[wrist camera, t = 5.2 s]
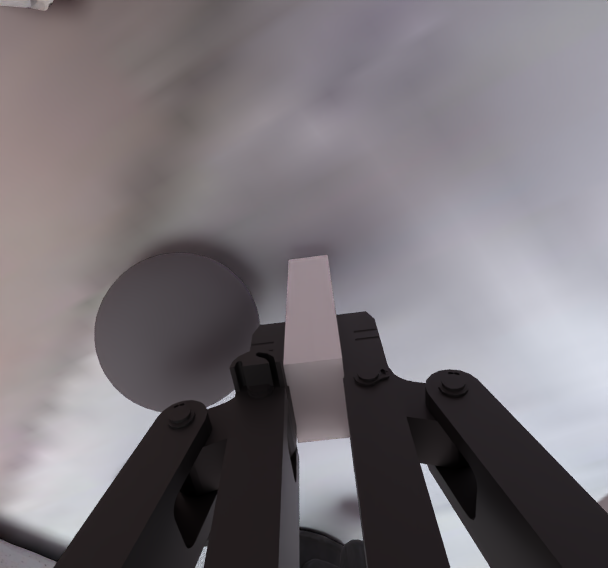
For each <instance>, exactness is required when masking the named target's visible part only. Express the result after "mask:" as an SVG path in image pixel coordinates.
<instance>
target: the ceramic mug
mask: <svg viewBox="0 0 608 568" xmlns="http://www.w3.org/2000/svg"><path fill="white" fill-rule="evenodd" d="M56 563H57V562H56V561H53V560H51V559H49V558H46V557H44V556H41V555H39V554H37V553H34V552H32V551H29V550H27V549H24V548H21V547H18V546H16V545H13V544H10V543H8V542H6V541H4V540H1V539H0V568H53V567H54V566H55V564H56Z"/></svg>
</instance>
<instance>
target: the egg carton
mask: <svg viewBox="0 0 608 568" xmlns="http://www.w3.org/2000/svg"><path fill="white" fill-rule="evenodd" d="M52 3H53V0H0V6H11V7H22V8H32V9H37V10H42V11H46V10H47V9H48V8H49V6H50V5H51V4H52Z"/></svg>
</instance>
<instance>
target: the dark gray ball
mask: <svg viewBox="0 0 608 568" xmlns="http://www.w3.org/2000/svg"><path fill="white" fill-rule="evenodd" d="M259 326H260V323H259V315H258V311H257V307H256V305H255V302H254V300H253V298H252V295H251V294H250V292H249V290H248V289H247V287H246V286H245V284H244V283H243V282H242V281H241V279H240V278H239V277H238V276H237V275H235V274H234V273H233V272H232V271H231V270H230V269H229V268H227V267H226V266H224V265H222V264H221V263H219V262H217V261H215V260H213V259H211V258H208V257H205V256H201V255H197V254H192V253H167V254H161V255H158V256H154V257H151V258H148V259H146V260H144V261H141V262H139V263H137V264H136V265H134V266H133V267H131V268H130V269H128V270H127V271H126V272H124V273H123V274H122V275H121V276H120V277H119V278H118V279H117V280H116V281H115V282H114V284H113V285H112V286H111V287H110V289H109V290H108V292H107V293H106V295H105V297H104V298H103V300H102V303H101V305H100V307H99V310H98V313H97V317H96V322H95V348H96V353H97V356H98V359H99V362H100V365H101V367H102V369H103V371H104V373H105V375H106V376H107V378H108V379H109V381H110V382H111V383H112V385H113V386H114V387H115V388H116V389H117V390H118V391H119V392H120V393H121V394H123V395H124V396H125V397H126V398H128V399H129V400H131V401H132V402H134V403H136V404H138V405H140V406H143V407H145V408H147V409H151V410H155V411H159V412H163V411H164V410H165V409H166V408H168V407H169V406H171V405H173V404H175V403H178V402H181V401H186V400H195V401H199V402H201V403H203V404H204V405H205V406H206V407H208V406H210V405H212V404H214V403H216V402H218V401H220V400H221V399H223V398H224V397H226V396H227V395H228V394H230V393H231V392H232V391H233V390H234V389H235V388H234V384H233V380H232V376H231V372H230V369H229V367H230V365H231V364H232V362H233V361H234V360H235V359H236V358H237V357H238V356H240V355H242V354H244V353H246V352H249V351H250V346H251V340H252V334H253V333H254V332H255V331H256V329H257V328H258V327H259Z"/></svg>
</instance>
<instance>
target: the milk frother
mask: <svg viewBox="0 0 608 568" xmlns="http://www.w3.org/2000/svg"><path fill="white" fill-rule="evenodd" d="M209 536H210V533H209ZM209 536H208V538H207V540H206V543H205V545H204V546H208V542H209ZM299 568H367V565H366V558H365V550H364V542H363V541H361V540H351V541H350V542H348V543H346V544H345V545H344V547H343V546H342V545H341V544H339V543H337V542H335V541H333V540H331V539H329V538H328V537H325V536H322V535H319V534H316V533H312V532H306V531H301V530H299Z"/></svg>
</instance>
